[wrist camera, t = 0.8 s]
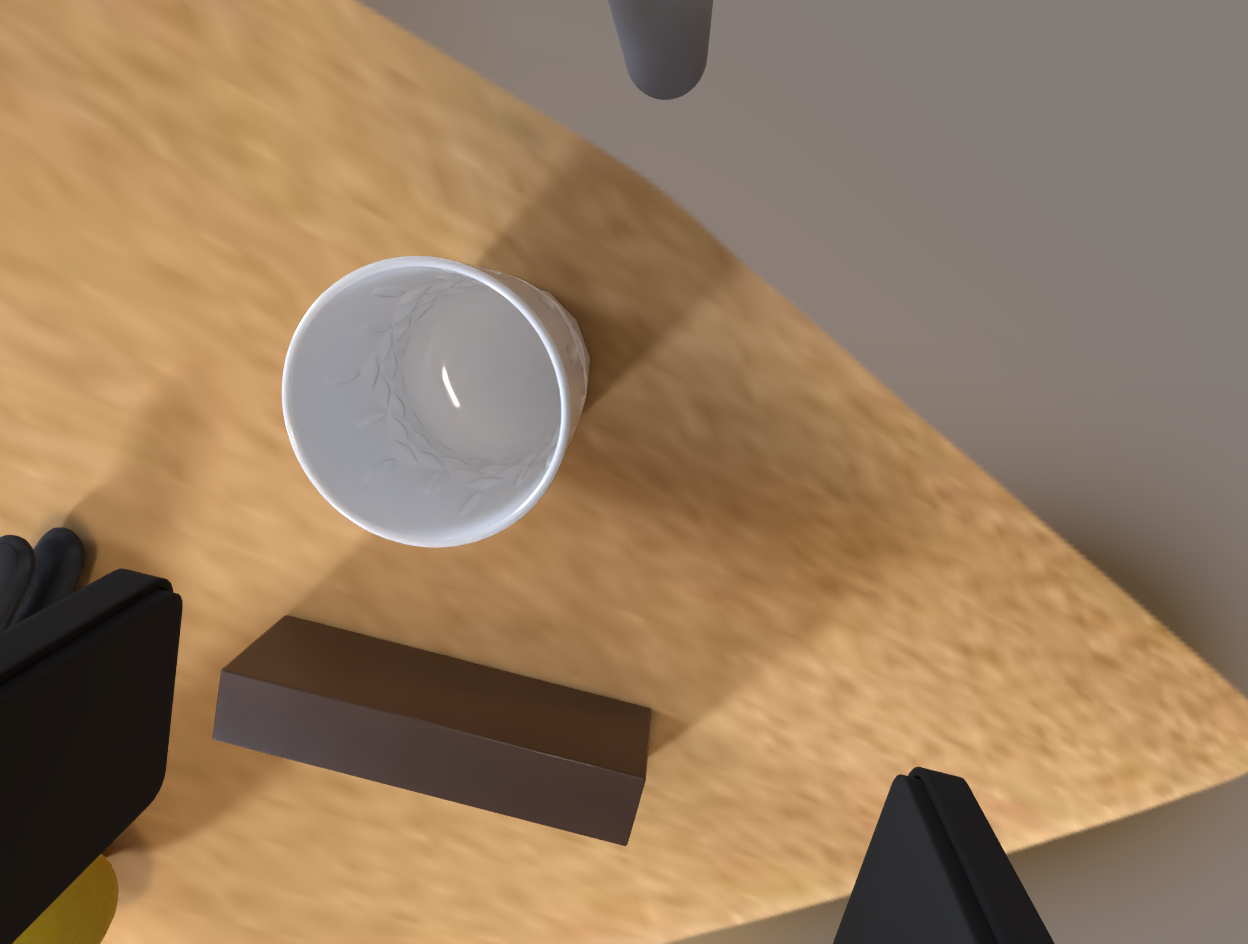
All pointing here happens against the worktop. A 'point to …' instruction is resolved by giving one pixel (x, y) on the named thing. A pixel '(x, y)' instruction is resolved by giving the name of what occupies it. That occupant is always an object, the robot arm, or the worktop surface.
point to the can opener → (37, 573)
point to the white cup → (433, 397)
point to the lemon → (78, 910)
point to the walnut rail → (438, 727)
